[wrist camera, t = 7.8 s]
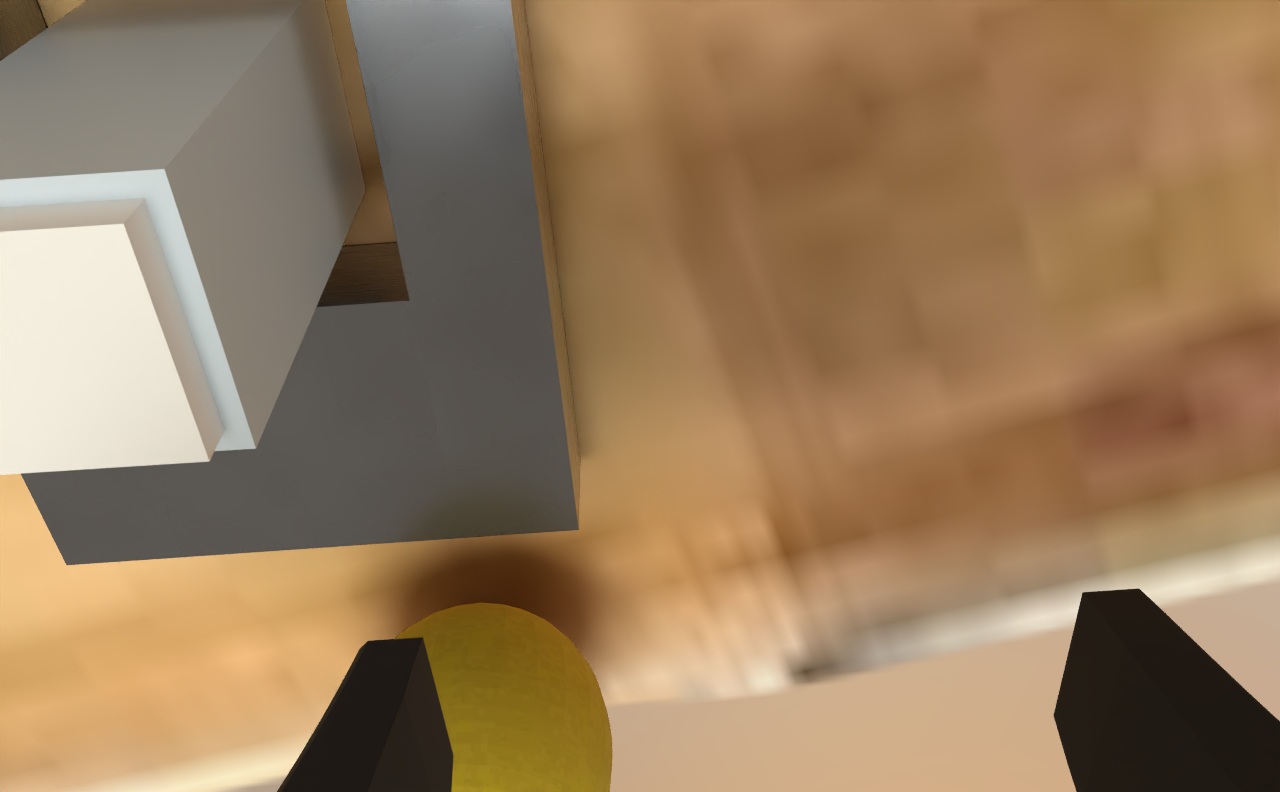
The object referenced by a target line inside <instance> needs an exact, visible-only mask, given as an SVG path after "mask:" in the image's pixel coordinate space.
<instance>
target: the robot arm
mask: <svg viewBox="0 0 1280 792" xmlns="http://www.w3.org/2000/svg"><path fill="white" fill-rule="evenodd" d="M1054 718H1055V721H1056V725H1057V729H1058V732H1059V736H1060V739H1061V742H1062V746H1063V749H1064V753H1065V756H1066V759H1067V763H1068V766H1069V769H1070V772H1071V776H1072V779H1073V782H1074V785H1075V788H1076V791H1077V792H1280V721H1279V720H1278V719H1277V718H1275V717H1274V716H1273V715H1272V714H1271V713H1270V712H1269V711H1268V710H1267V709H1266V708H1265V707H1263V706H1262V705H1261V704H1260V703H1259V702H1258V701H1257V700H1256V699H1255V698H1254V697H1253V696H1252V695H1251V694H1249V693H1248V692H1247V691H1246V690H1245V689H1244V688H1243V687H1242V686H1241V685H1240V684H1239V683H1238V682H1237V681H1236V680H1235V679H1233V678H1232V677H1231V676H1230V675H1229V674H1228V673H1227V672H1226V671H1225V670H1224V669H1223V668H1222V667H1221V666H1220V665H1219V664H1218V663H1217V662H1216V661H1214V660H1213V659H1212V658H1211V657H1210V656H1209V655H1208V654H1207V653H1206V652H1205V651H1204V650H1203V649H1202V648H1201V647H1200V646H1199V645H1198V644H1197V643H1196V642H1195V641H1194V640H1193V639H1191V638H1190V636H1188V635H1187V634H1186V633H1185V632H1184V631H1183V630H1182V629H1181V628H1180V627H1179V626H1178V625H1177V624H1176V623H1175V622H1174V621H1173V620H1172V619H1171V618H1170V617H1169V616H1167V614H1166V613H1164V612H1163V611H1162V610H1161V609H1160V608H1159V607H1158V606H1157V605H1156V604H1155V603H1154V602H1153V601H1152V600H1151V599H1150V598H1149V597H1147V596H1146V595H1145V594H1144V593H1143V592H1142V591H1141V590H1140V589H1127V590H1112V591H1097V592H1083V593H1082V598H1081V602H1080V606H1079V610H1078V614H1077V619H1076V623H1075V627H1074V631H1073V636H1072V640H1071V644H1070V649H1069V653H1068V657H1067V661H1066V665H1065V670H1064V674H1063V678H1062V682H1061V686H1060V691H1059V695H1058V699H1057V704H1056V708H1055V712H1054ZM453 757H454V755H453V751H452V747H451V743H450V740H449V736H448V732H447V728H446V724H445V720H444V716H443V712H442V709H441V705H440V701H439V697H438V693H437V689H436V685H435V682H434V678H433V674H432V670H431V666H430V662H429V658H428V654H427V651H426V647H425V643H424V639H423V637H419V638H404V639H389V640H374V641H367V642H366V643H365V644H364V645H363V646H362V647H361V648H360V650H359V651H358V653H357V655H356V657H355V659H354V661H353V663H352V665H351V667H350V668H349V670H348V672H347V674H346V676H345V678H344V680H343V681H342V683H341V685H340V687H339V689H338V690H337V692H336V694H335V696H334V698H333V699H332V701H331V703H330V705H329V707H328V708H327V710H326V712H325V714H324V715H323V717H322V719H321V721H320V722H319V724H318V726H317V727H316V729H315V731H314V732H313V734H312V736H311V737H310V739H309V741H308V743H307V744H306V746H305V748H304V749H303V751H302V753H301V754H300V756H299V758H298V759H297V761H296V762H295V764H294V766H293V767H292V769H291V770H290V772H289V773H288V775H287V777H286V778H285V780H284V781H283V783H282V785H281V786H280V788H279V789H278V791H277V792H451V791H452V774H453Z"/></svg>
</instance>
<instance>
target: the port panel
mask: <svg viewBox="0 0 1280 792" xmlns="http://www.w3.org/2000/svg"><path fill="white" fill-rule="evenodd" d="M346 5H347V10H348V14H349V19H350V24H351V28H352V33H353V38H354V42H355V47H356V52H357V56H358V61H359V66H360V70H361V75H362V80H363V84H364V89H365V94H366V98H367V103H368V108H369V113H370V117H371V122H372V127H373V131H374V136H375V141H376V145H377V150H378V155H379V159H380V164H381V169H382V173H383V178H384V183H385V187H386V192H387V197H388V201H389V206H390V211H391V215H392V220H393V225H394V229H395V234H396V239H397V243H385V244H371V245H357V246H343V247H342V248H341V250H340V253H339V255H338V257H337V260H336V262H335V264H334V267H333V269H332V271H331V274H330V276H329V278H328V281H327V283H326V285H325V288H324V290H323V292H322V295H321V297H320V300H319V302H318V304H317V307H316V309H315V311H314V314H313V316H312V318H311V321H310V323H309V325H308V328H307V330H306V332H305V335H304V337H303V339H302V342H301V344H300V346H299V349H298V351H297V354H296V356H295V358H294V361H293V363H292V365H291V368H290V370H289V372H288V375H287V377H286V379H285V382H284V384H283V386H282V389H281V391H280V393H279V396H278V398H277V400H276V403H275V405H274V408H273V410H272V412H271V415H270V417H269V419H268V422H267V424H266V426H265V429H264V431H263V433H262V436H261V438H260V440H259V443H258V445H257V447H256V449H241V450H225V451H214V453H213V455H212V458H211V460H210V461H209V462H193V463H178V464H162V465H146V466H131V467H115V468H99V469H83V470H68V471H52V472H36V473H21V475H22V477H23V479H24V481H25V483H26V485H27V487H28V489H29V491H30V493H31V495H32V497H33V499H34V501H35V503H36V505H37V507H38V509H39V511H40V513H41V515H42V517H43V519H44V521H45V523H46V525H47V527H48V529H49V531H50V533H51V535H52V537H53V539H54V541H55V543H56V545H57V547H58V549H59V551H60V553H61V555H62V557H63V559H64V561H65V563H66V565H75V564H90V563H104V562H119V561H133V560H148V559H162V558H177V557H191V556H206V555H221V554H235V553H250V552H264V551H279V550H293V549H308V548H322V547H337V546H351V545H366V544H380V543H395V542H409V541H424V540H438V539H453V538H467V537H482V536H496V535H511V534H525V533H540V532H554V531H569V530H579V497H580V452H579V444H578V436H577V428H576V419H575V411H574V403H573V395H572V387H571V378H570V370H569V362H568V354H567V346H566V337H565V329H564V321H563V313H562V305H561V296H560V288H559V280H558V272H557V264H556V255H555V247H554V239H553V231H552V223H551V214H550V206H549V198H548V190H547V182H546V173H545V165H544V157H543V149H542V141H541V133H540V124H539V116H538V108H537V100H536V92H535V83H534V75H533V67H532V59H531V51H530V42H529V34H528V26H527V18H526V10H525V1H524V0H346ZM45 29H47V28H46V25H45V22H44V20H43V17H42V14H41V12H40V9H39V6H38V4H37V1H36V0H0V61H1V60H3V59H4V58H6V57H7V56H8V55H10V54H11V53H13V52H14V51H16V50H17V49H18V48H20V47H21V46H23V45H24V44H26V43H27V42H28V41H30V40H31V39H33V38H34V37H36V36H37V35H38V34H40V33H41V32H43V31H44V30H45Z"/></svg>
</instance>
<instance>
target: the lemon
mask: <svg viewBox="0 0 1280 792" xmlns="http://www.w3.org/2000/svg"><path fill="white" fill-rule="evenodd" d="M419 637H423V639H424V643H425V647H426V651H427V654H428V658H429V662H430V666H431V670H432V674H433V678H434V682H435V685H436V689H437V693H438V697H439V701H440V705H441V709H442V712H443V716H444V720H445V724H446V728H447V732H448V736H449V740H450V743H451V747H452V751H453V755H454V757H453V774H452V791H451V792H610V780H611V770H612V737H611V730H610V723H609V718H608V714H607V710H606V706H605V703H604V700H603V697H602V694H601V691H600V688H599V685H598V682H597V679H596V676H595V674H594V673H593V671H592V669H591V667H590V665H589V664H588V662H587V661H586V660H585V658H584V657H583V656H582V654H581V653H580V652H579V650H578V649H577V647H576V646H575V645H574V644H573V642H572V641H571V640H570V639H569V638H568V637H567V636H565V635H564V634H563V633H562V632H561V631H559V630H558V629H557V628H555V627H554V626H553V625H552V624H550V623H549V622H548V621H547V620H545V619H543V618H541V617H538V616H536V615H534V614H532V613H530V612H528V611H526V610H523V609H520V608H516V607H512V606H508V605H504V604H493V603H474V604H465V605H458V606H454V607H451V608H448V609H444V610H441V611H438V612H435V613H433V614H431V615H429V616H427V617H426V618H424V619H422V620H420V621H419V622H417V623H415V624H413V625H412V626H410V627H408V628H406V629H405V630H404V631H403V632H402V633H400V634H399V635H398V636H397V637H396V638H395V639H404V638H419Z"/></svg>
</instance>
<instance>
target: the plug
mask: <svg viewBox="0 0 1280 792" xmlns="http://www.w3.org/2000/svg"><path fill="white" fill-rule="evenodd" d="M365 191H366V188H365V184H364V179H363V174H362V170H361V165H360V161H359V156H358V151H357V147H356V142H355V138H354V133H353V128H352V124H351V119H350V115H349V110H348V105H347V101H346V96H345V92H344V87H343V82H342V78H341V73H340V69H339V64H338V59H337V55H336V50H335V45H334V41H333V36H332V32H331V27H330V22H329V18H328V13H327V9H326V4H325V0H87V1H85V2H84V3H83V4H81V5H80V6H78V7H77V8H75V9H74V10H73V11H71V12H70V13H68V14H67V15H65V16H64V17H63V18H61V19H60V20H58V21H57V22H55V23H54V24H53V25H51V26H50V27H48V28H47V29H45V30H44V31H43V32H41V33H40V34H38V35H37V36H36V37H34V38H33V39H31V40H30V41H28V42H27V43H26V44H24V45H23V46H21V47H20V48H18V49H17V50H16V51H14V52H13V53H11V54H10V55H8V56H7V57H6V58H4V59H3V60H1V61H0V475H5V474H21V473H36V472H52V471H68V470H83V469H99V468H115V467H131V466H146V465H162V464H178V463H193V462H209V461H210V460H211V458H212V455H213V453H214V451H225V450H241V449H256V447H257V445H258V443H259V440H260V438H261V436H262V433H263V431H264V429H265V426H266V424H267V422H268V419H269V417H270V415H271V412H272V410H273V408H274V405H275V403H276V400H277V398H278V396H279V393H280V391H281V389H282V386H283V384H284V382H285V379H286V377H287V375H288V372H289V370H290V368H291V365H292V363H293V361H294V358H295V356H296V354H297V351H298V349H299V346H300V344H301V342H302V339H303V337H304V335H305V332H306V330H307V328H308V325H309V323H310V321H311V318H312V316H313V314H314V311H315V309H316V307H317V304H318V302H319V300H320V297H321V295H322V292H323V290H324V288H325V285H326V283H327V281H328V278H329V276H330V274H331V271H332V269H333V267H334V264H335V262H336V260H337V257H338V255H339V253H340V250H341V248H342V245H343V243H344V241H345V238H346V236H347V234H348V231H349V229H350V227H351V224H352V222H353V220H354V217H355V215H356V213H357V210H358V208H359V206H360V203H361V201H362V199H363V196H364V194H365Z"/></svg>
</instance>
